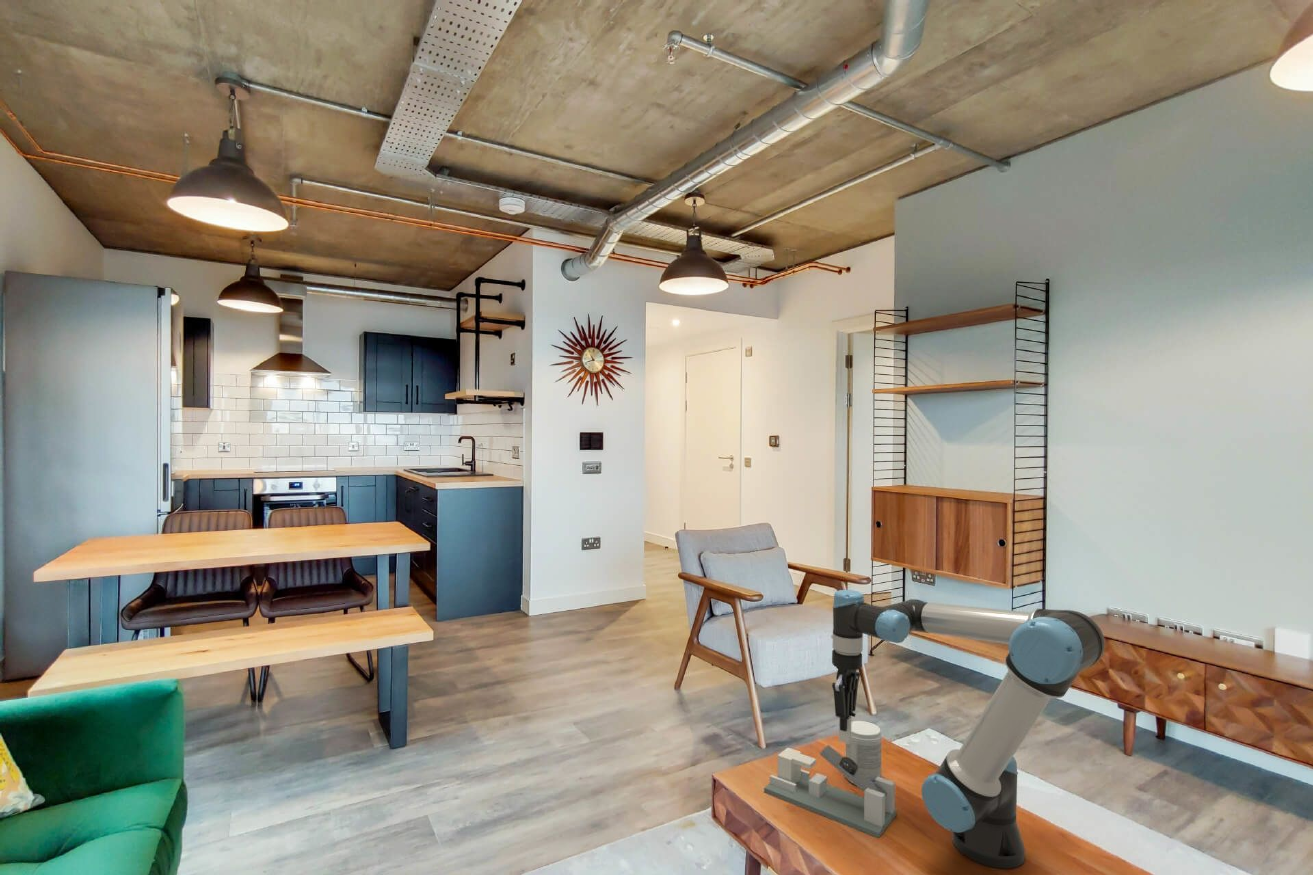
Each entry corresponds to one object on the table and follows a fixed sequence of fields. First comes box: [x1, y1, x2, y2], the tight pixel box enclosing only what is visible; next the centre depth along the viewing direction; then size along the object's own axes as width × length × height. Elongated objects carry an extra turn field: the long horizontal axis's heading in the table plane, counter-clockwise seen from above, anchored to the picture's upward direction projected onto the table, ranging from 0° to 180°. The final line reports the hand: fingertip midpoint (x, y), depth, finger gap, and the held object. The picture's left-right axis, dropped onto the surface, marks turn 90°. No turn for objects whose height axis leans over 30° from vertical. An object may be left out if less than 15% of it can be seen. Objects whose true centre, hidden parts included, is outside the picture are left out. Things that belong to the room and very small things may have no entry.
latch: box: [776, 747, 817, 784], centre depth 175 cm, size 9×6×8 cm, turn 51°
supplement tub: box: [845, 720, 882, 785], centre depth 181 cm, size 10×10×15 cm
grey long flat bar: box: [819, 744, 887, 797], centre depth 166 cm, size 18×4×2 cm, turn 51°
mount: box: [763, 768, 898, 839], centre depth 169 cm, size 31×13×8 cm, turn 51°
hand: (844, 741), depth 167 cm, fingers closed
